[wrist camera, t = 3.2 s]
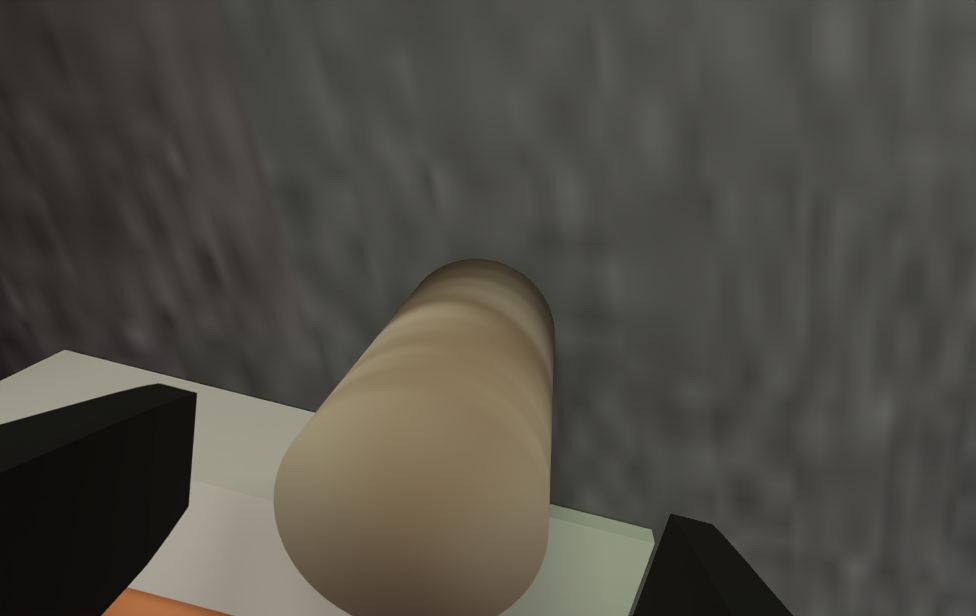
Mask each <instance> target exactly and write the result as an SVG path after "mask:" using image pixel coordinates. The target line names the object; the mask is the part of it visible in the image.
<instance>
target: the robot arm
mask: <svg viewBox="0 0 976 616" xmlns="http://www.w3.org/2000/svg"><path fill="white" fill-rule="evenodd" d="M196 403H197V393H196V392H192V391H188V390H184V389H180V388H176V387H172V386H168V385H164V384H160V383H157V384H151V385H145V386H141V387H136V388H132V389H128V390H124V391H120V392H116V393H112V394H108V395H105V396H101V397H97V398H94V399H90V400H86V401H83V402H79V403H76V404H72V405H68V406H65V407H61V408H58V409H54V410H50V411H47V412H43V413H40V414H36V415H32V416H29V417H25V418H22V419H18V420H14V421H11V422H7V423H3V424H0V616H101V615H102V614H103V613H104V612H105V611H106V610H107V609H108V608H109V607H110V606H111V605H112V603H113V602H114V601H115V600H116V599H117V598H118V597H119V596H120V595H121V594H122V592H123V591H124V590H125V589H126V588H127V587H128V586H129V585H130V584H131V583H132V581H133V580H134V579H135V578H136V577H137V576H138V575H139V574H140V572H141V571H142V570H143V569H144V568H145V567H146V566H147V565H148V563H149V562H150V560H151V559H152V558H153V556H154V555H155V554H156V552H157V551H158V550H159V548H160V547H161V546H162V544H163V543H164V541H165V540H166V539H167V537H168V536H169V534H170V533H171V532H172V530H173V529H174V527H175V526H176V524H177V523H178V521H179V520H180V518H181V517H182V516H183V514H184V513H185V511H186V510H187V508H188V507H189V496H190V483H191V470H192V456H193V443H194V430H195V416H196ZM633 616H793V615H792V614H791V613H790V612H789V611H788V609H787V608H786V607H785V606H784V605H783V604H782V602H781V601H780V600H779V599H778V598H777V597H776V596H775V594H774V593H773V592H772V591H771V590H770V589H769V587H768V586H767V585H766V584H765V583H764V582H763V580H762V579H761V578H760V577H759V576H758V575H757V573H756V572H755V571H754V570H753V569H752V568H751V566H750V565H749V564H748V563H747V562H746V561H745V559H744V558H743V557H742V556H741V555H740V554H739V553H738V551H737V550H736V549H735V548H734V547H733V546H732V545H731V543H730V542H729V541H728V540H727V539H726V538H725V537H724V536H723V535H722V534H721V533H720V532H719V531H718V529H717V528H716V527H715V526H714V525H713V524H709V523H705V522H702V521H698V520H694V519H690V518H686V517H682V516H678V515H674V514H670V516H669V519H668V522H667V525H666V527H665V530H664V533H663V535H662V538H661V541H660V544H659V546H658V549H657V552H656V554H655V557H654V560H653V563H652V565H651V568H650V571H649V573H648V576H647V579H646V582H645V584H644V587H643V590H642V592H641V595H640V598H639V601H638V603H637V606H636V609H635V611H634V614H633Z"/></svg>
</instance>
